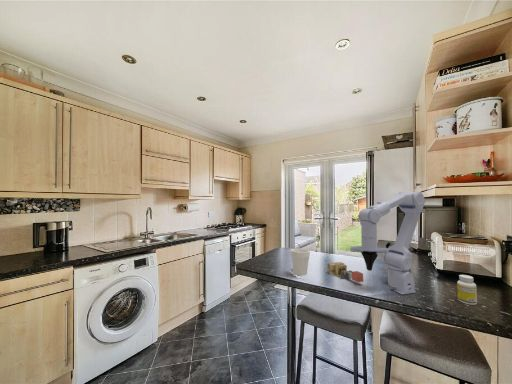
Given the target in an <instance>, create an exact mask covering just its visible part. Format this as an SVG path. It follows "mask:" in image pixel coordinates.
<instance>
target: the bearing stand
mask: <svg viewBox="0 0 512 384" xmlns="http://www.w3.org/2000/svg"><path fill="white" fill-rule="evenodd" d="M336 264H344V265H345V263H344V262H342V261H337V262H327V274H329V275H333V276H335V277H336V278H340V279H341V280H348V279H351V280H352V278H350V277H348V276H346V275H344V272H343V271H341V268H340V272H341V275H337V274H335V273H334V265H336ZM348 271H349V272H351V273H352V272H353V270H348Z"/></svg>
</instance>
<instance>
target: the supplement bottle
mask: <svg viewBox="0 0 512 384" xmlns="http://www.w3.org/2000/svg"><path fill="white" fill-rule="evenodd" d="M458 278H459V279H458V281H457V282H456V287H457V288H456V289H457V300H458V301H459V302H461V303H463V304H466V305H471V306H475V305H477V304H478V295H477V284H476V283H475V282H474V277H473V276H471V275H467V274H459V275H458Z"/></svg>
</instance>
